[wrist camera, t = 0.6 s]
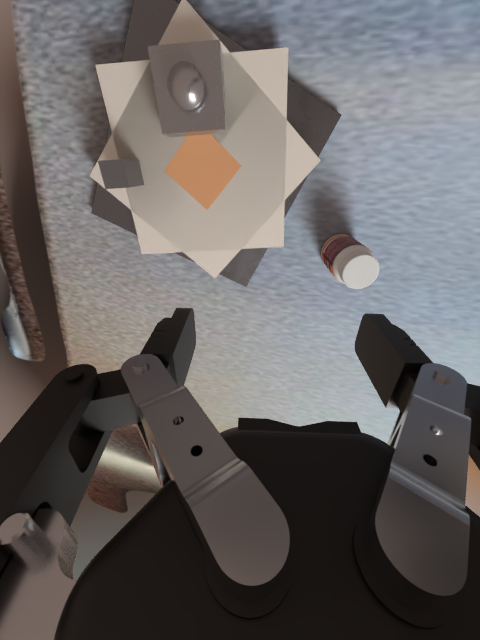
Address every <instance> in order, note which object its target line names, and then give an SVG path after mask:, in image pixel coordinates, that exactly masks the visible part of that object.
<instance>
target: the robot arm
mask: <svg viewBox="0 0 480 640" xmlns="http://www.w3.org/2000/svg"><path fill="white" fill-rule="evenodd" d="M195 345H196V332H195V321H194V311H193V308H176V310H175V312H174V314H173V316H172V318H164V319H163V320H162V321H160V322H159V323H158V324H157V325H156V327H155V329H154V331H153V332H152V334H151V337H150V338H149V339H148V341H147V343H146V344H145V346H144V348H143V350H142V351H141V353H140V355H136V356H134V357H131V358H129V359H128V360H127V361H125V362H124V363H123V365H122V366H121V369H120V370H116V371H111V372H106V373H100V374H97V371H96V368H95V367H93V366H92V365H88V364H80V365H75V366H71V367H69V368H66V369H64V370H63V371H61V372H60V373H58V374H57V375H56V376H55V377H54V378H53V379H52V381H51V382H50V383H49V384H48V386H47V387H46V388H45V389H44V390H43V392H42V393H41V394H40V395H39V396H38V398H37V399H36V400H35V401H34V402H33V404H32V405H31V406H30V407H29V409H28V410H27V411H26V412H25V414H24V415H23V416H22V417H21V418H20V420H19V421H18V422H17V423H16V424H15V426H14V427H13V428H12V429H11V431H10V432H9V433H8V434H7V436H6V437H5V438H4V439H3V440H2V442H1V443H0V640H480V517H479V516H478V515H477V514H475V513H474V512H473V511H471V510H470V509H469V508H468V507H467V506H465V497H466V484H467V483H466V482H467V471H468V458H469V455H470V456H471V458H472V459H473V461H474V462H475V464H476V465H477V467H478V468H479V470H480V386H476V385H472V384H468V383H467V382H466V380H465V378H464V377H463V376H462V375H461V374H460V373H458V372H457V371H455V370H453V369H451V368H449V367H447V366H444V365H441V364H436V363H433V362H432V361H431V360H430V359H429V358H428V357H427V356H426V355H425V353H424V352H423V351H422V350H421V349H420V348H419V347H418V346H416V343H415V342H414V341H413V340H411V338H410V337H409V336H408V335H407V333H406V332H405V331H403V330H402V329H400V328H399V327H397V326H395V325H392V324H391V322H390V321H389V320H388V319H387V318H386V317H385V316H384V315H383V314H364V315H363V317H362V320H361V324H360V327H359V330H358V334H357V337H356V341H355V351H356V354H357V356H358V358H359V360H360V362H361V363H362V365H363V367H364V369H365V371H366V372H367V374H368V376H369V378H370V380H371V382H372V383H373V385H374V387H375V389H376V391H377V393H378V394H379V396H380V398H381V400H382V402H383V404H384V405H385V407H386V408H399V410H400V412H399V415H398V417H397V419H396V422H395V425H394V427H393V430H392V433H391V435H390V438H389V441H388V444H387V443H385V442H383V441H381V440H379V439H377V438H375V437H373V436H371V435H368V434H365V433H361V431H360V429H359V426H358V424H357V422H337V421H326V422H321V423H316V424H311V425H306V426H300V427H298V426H293V425H289V424H285V423H281V422H278V421H274V420H270V419H257V418H239V420H238V427H236V428H231V429H228V430H226V431H223V432H221V433H219V432H218V431H217V429H216V428H215V426H214V425H213V424H212V422H211V421H210V419H209V418H208V417H207V415H206V414H205V413H204V411H203V410H202V408H201V407H200V406H199V404H198V403H197V401H196V400H195V399H194V397H193V396H192V395H191V393H190V392H189V390H188V389H187V388H186V387H185V386H184V383H185V380H186V376H187V373H188V370H189V366H190V363H191V360H192V356H193V353H194V350H195ZM132 424H136V425H137V427H138V430H139V432H140V434H141V437H142V439H143V441H144V444H145V446H146V448H147V450H148V453H149V455H150V457H151V460H152V462H153V465H154V468H155V471H156V474H157V476H158V479H159V481H160V484H161V486H162V488H161V489H160V490H159V491H158V492H157V493H156V494H155V495H154V496H153V498H151V500H150V501H149V502H148V503H147V504H146V505H145V506H144V507H143V508H142V509H141V510H140V511H139V512H138V513H137V514H136V515H135V516H134V517H133V518H132V519H131V520H130V521H129V522H128V523H127V524H126V525H125V526H124V527H123V528H122V529H121V530H120V531H119V532H118V533H117V534H116V535H115V536H114V537H113V538H112V539H111V541H109V542H108V543H107V544H106V545H105V546H104V547H103V548H102V550H100V551H99V553H98V554H97V555H96V556H95V557H94V558H93V559H92V560H91V561H90V563H89V564H88V565H87V567H86V568H85V569H84V571H83V572H82V574H81V575H80V577H79V578H78V580H74V579H73V567H74V563H75V559H76V555H77V550H78V541H77V537H76V535H75V534H74V532H73V531H72V529H71V528H70V526H71V523H72V521H73V519H74V517H75V514H76V512H77V510H78V508H79V505H80V503H81V501H82V499H83V496H84V494H85V492H86V489H87V487H88V485H89V483H90V480H91V478H92V476H93V474H94V471H95V469H96V467H97V465H98V462H99V460H100V458H101V456H102V453H103V451H104V449H105V446H106V444H107V442H108V440H109V437H110V435H111V433H112V431H113V429H115V428H120V427H124V426H128V425H132Z"/></svg>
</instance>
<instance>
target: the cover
mask: <svg viewBox="0 0 480 640" xmlns="http://www.w3.org/2000/svg"><path fill="white" fill-rule="evenodd" d="M148 52H149V58H150V64H151V70H152V76H153V82H154V88H155V94H156V100H157V106H158V112H159V118H160V124H161V130H162V134H164V135H166V136H168V137H180V136H193V135H207V134H220V133H228V129H227V115H226V100H225V85H224V70H223V55H222V49H221V45H220V40H208V41H197V42H186V43H176V44H165V45H154V46H148Z"/></svg>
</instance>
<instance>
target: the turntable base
mask: <svg viewBox="0 0 480 640" xmlns="http://www.w3.org/2000/svg"><path fill="white" fill-rule="evenodd" d="M178 6H179V3H178V2H176V1H175V0H134V3H133V8H132V13H131V18H130V23H129V28H128V33H127V38H126V43H125V48H124V53H123V58H122V62H132V61H143V60H150V58H149V52H148V46H154V45H158V44H159V42H160V40H161V38H162V36H163V35H164V33H165V31H166V29H167V27H168V25H169V23H170V21H171V19H172V17H173V15H174V13H175V12H176V10H177V8H178ZM203 21H204V20H203ZM204 22H205V21H204ZM205 23H206V24H207V25H208V27H209V28H210V29H211V30H212V31H213V33H214V34H215V35H216V36H217V37H218V39H219V40H220V41H221V42H222V43H223V45H224V46H225V47H226V48H227V49H228V51H229V52H230V53H232V52H243V51H248V50H246V49H245V48H243V47H242V46H240V45H239V44H237V43H236V42H235V41H233V40H232V39H230V38H229V37H227V36H226V35H224V34H223V33H221V32H220V31H218V30H217V29H216V28H214V27H213V26H211V25H210V24H208V23H207V22H205ZM340 117H341V114H340V113H338V112H337V111H335V110H334V109H332V108H331V107H329V106H328V105H326V104H325V103H324V102H322V101H321V100H319V99H318V98H316V97H315V96H313V95H312V94H310V93H309V92H307V91H306V90H305V89H303V88H302V87H300V86H299V85H297V84H296V83H294V82H293V81H291V80H290V79H289V78H288V81H287V121H288V122H289V123H290V124H291V126H292V127H293V128H294V129H295V130H296V132H297V133H298V134H299V135H300V136H301V137H302V139H303V140H304V141H305V142H306V143H307V145H308V146H309V147H310V148H311V149H312V151H313V152H314V153H315V154H316V155H317V157H318V156H319V155H320V153H321V151H322V149H323V147H324V146H325V144H326V142H327V140H328V138H329V137H330V135H331V133H332V131H333V129H334V128H335V126H336V124H337V122H338V120H339V119H340ZM111 134H112V131H111V126H110V123H109V128H108V133H107V138H106V143H105V146H106V144H107V142H108V140H109V138H110V136H111ZM307 176H308V175H307ZM307 176H306V177H305V179H304V180H303V181H302V182H301V183H300V184H299V185H298V186H297V187H296V189H295V190H294V191H293V192H292V193H291V194H290V195H289V196H288V197H287V199H286V200H285V210H284V218H285V216H286V214H287V212H288V210H289V209H290V207H291V205H292V203H293V201H294V200H295V198H296V196H297V194H298V192H299V191H300V189H301V187H302V185H303V183H304V182H305V180H306V178H307ZM92 214H95V215H97V216H99V217H101V218H103V219H105V220H107V221H109V222H111V223H113V224H116V225H118V226H120V227H122V228H124V229H126V230H128V231H130V232H132V233H134V234H136V235H137V232H136V228H135V224H134V220H133V216H132V212H131V210H130V209H129V208H128V207H127V206H126V205H124V204H123V203H122V202H121V201H119V200H118V199H117V198H116V197H115V196H113V195H112V194H111V193H110V192H108V191H107V190H106V189H105V188H103V187H102V186H101V185H100V184H99V183H97V188H96V193H95V198H94V203H93V208H92ZM266 250H267V248H250V249H241V250H240V251H239V252H238V253H237V254H236V256H235V257H234V258H233V259H232V260H231V261H230V262H229V263H228V264H227V266H226V267H225V268H224V269H223V270H222V271H221V272H220V273H219V274H220V275H222V276H225V277H227V278H229V279H231V280H233V281H235V282H237V283H239V284H241V285H243V286H247V284H248V282H249V281H250V279H251V277H252V275H253V273H254V272H255V270H256V268H257V266H258V264H259V263H260V261H261V259H262V257H263V255H264V254H265V252H266ZM174 253H176V254H178V255H181V256H183V257H185V258H187V259H189V260H191V261H193V260H192V259H191V258H189V257H188V256H187V255H186V254H185V253H183V252H174ZM193 262H194V261H193ZM195 263H196V262H195Z"/></svg>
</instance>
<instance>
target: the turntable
mask: <svg viewBox="0 0 480 640" xmlns="http://www.w3.org/2000/svg"><path fill="white" fill-rule="evenodd" d="M208 40H219V39H218V37H217V36H216V35H215V34H214V33H213V31H212V30H211V29H210V28H209V27H208V25H207V24H206V23H205V22H204V21H203V20H202V18H201V17H200V16H199V15H198V14H197V12H196V11H195V10H194V9H193V8H192V6H191V5H190V4H189V3H188V2H187V0H181V2H180V4H179V6H178V8H177V10H176V12H175V13H174V15H173V17H172V19H171V21H170V23H169V25H168V27H167V29H166V31H165V33H164V35H163V36H162V38H161V40H160V42H159V44H158V45H165V44H176V43H186V42H197V41H208ZM220 45H221V49H222V55H223V70H224V85H225V100H226V115H227V129H228V133H220V134H207V135H193V136H180V137H168V136H166V135H164V134H162V130H161V124H160V118H159V112H158V106H157V100H156V94H155V88H154V82H153V76H152V70H151V64H150V60H143V61H132V62H121V63H110V64H98V65H95V66H96V70H97V74H98V78H99V82H100V86H101V90H102V94H103V98H104V102H105V106H106V110H107V114H108V118H109V122H110V126H111V131H112V134H111V136H110V138H109V140H108V142H107V144H106V146H105V148H104V150H103V152H102V154H101V155H100V157H99V159H98V161H97V163H96V165H95V167H94V169H93V171H92V173H91V175H90V177H91V178H92V179H94V180H95V181H96V182H97V183H99V184H100V185H101V186H102V187H103V188H105V189H106V190H107V191H108V192H110V193H111V194H112V195H113V196H115V197H116V198H117V199H118V200H119V201H121V202H122V203H123V204H124V205H126V206H127V207H128V208H129V209H130V210H131V212H132V216H133V220H134V224H135V228H136V232H137V236H138V240H139V244H140V248H141V252H142V254H155V253H174V252H183V253H185V254H186V255H187V256H188V257H189V258H191V259H192V260H193V261H194V262H196V263H197V264H198V265H199V266H200V267H202V268H203V269H204V270H205V271H207V272H208V273H209V274H210V275H212V276H213V277H214V278H216V277H217V276H218V274H219V273H220V272H221V271H222V270H223V269H224V268H225V267H226V266H227V264H228V263H229V262H230V261H231V260H232V259H233V258H234V257H235V256H236V254H237V253H238V252H239V251H240V250H241V249H250V248H269V247H284V210H285V200H286V199H287V197H288V196H289V195H290V194H291V193H292V192H293V191H294V190H295V189H296V187H297V186H298V185H299V184H300V183H301V182H302V181H303V180H304V179H305V177H306V176H307V175H308V174H309V173H310V172H311V171H312V170H313V168H314V167H315V166H316V165H317V164H318V163H319V162H320V161H321V160H320V159H319V158H318V157H317V155H316V154H315V153H314V152H313V151H312V149H311V148H310V147H309V146H308V145H307V143H306V142H305V141H304V140H303V139H302V137H301V136H300V135H299V134H298V133H297V132H296V130H295V129H294V128H293V127H292V126H291V124H290V123H289V122H288V121H287V81H288V47H287V48H276V49H265V50H254V51H243V52H232V53H230V52H229V51H228V49H227V48H226V47H225V46H224V45H223V43H222V42H221V41H220Z"/></svg>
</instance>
